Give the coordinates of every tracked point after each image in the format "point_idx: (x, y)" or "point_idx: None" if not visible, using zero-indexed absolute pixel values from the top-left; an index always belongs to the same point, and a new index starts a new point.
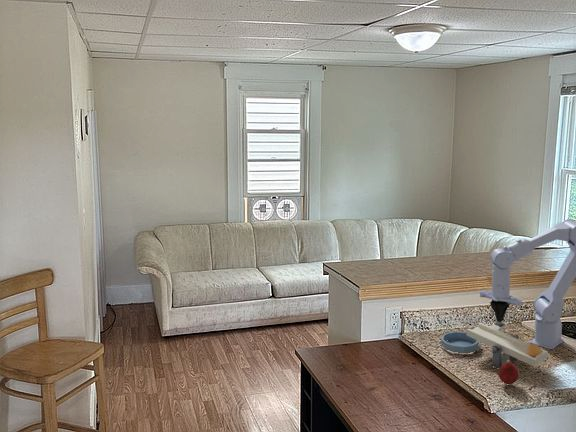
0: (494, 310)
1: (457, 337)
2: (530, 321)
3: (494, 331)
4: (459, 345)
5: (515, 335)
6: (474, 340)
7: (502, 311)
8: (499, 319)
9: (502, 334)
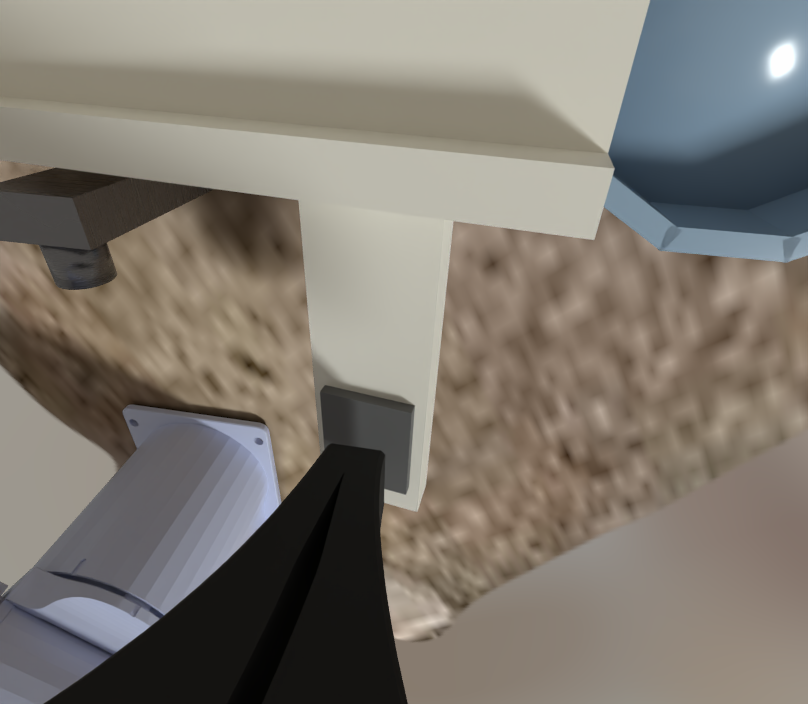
0: (365, 618)
1: None
2: (414, 624)
3: (237, 125)
4: None
5: (51, 255)
6: (622, 182)
7: (179, 613)
8: (320, 468)
9: (94, 112)
